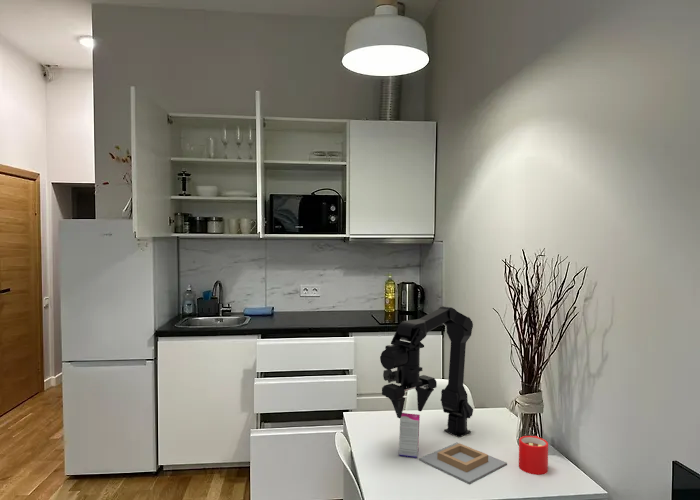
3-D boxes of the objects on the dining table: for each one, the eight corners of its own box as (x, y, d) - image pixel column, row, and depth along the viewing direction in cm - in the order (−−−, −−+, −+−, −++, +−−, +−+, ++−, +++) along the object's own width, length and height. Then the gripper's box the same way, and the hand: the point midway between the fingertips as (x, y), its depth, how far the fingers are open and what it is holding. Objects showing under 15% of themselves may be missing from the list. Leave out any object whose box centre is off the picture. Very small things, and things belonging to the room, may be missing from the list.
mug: (549, 459, 146) (550, 433, 145) (546, 477, 135) (547, 449, 135) (521, 454, 149) (522, 428, 149) (516, 471, 138) (517, 443, 138)
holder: (457, 444, 156) (457, 436, 156) (506, 464, 142) (507, 455, 142) (418, 460, 144) (419, 451, 144) (469, 484, 130) (469, 474, 130)
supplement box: (418, 458, 145) (418, 420, 145) (398, 456, 146) (398, 418, 146) (419, 450, 151) (419, 413, 151) (400, 448, 152) (400, 412, 152)
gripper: (411, 354, 160) (411, 401, 161) (369, 363, 148) (369, 413, 149) (437, 360, 152) (437, 410, 152) (395, 371, 140) (395, 424, 140)
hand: (409, 414), depth 148 cm, fingers open, 9 cm apart
